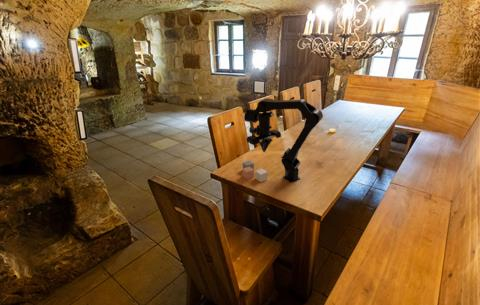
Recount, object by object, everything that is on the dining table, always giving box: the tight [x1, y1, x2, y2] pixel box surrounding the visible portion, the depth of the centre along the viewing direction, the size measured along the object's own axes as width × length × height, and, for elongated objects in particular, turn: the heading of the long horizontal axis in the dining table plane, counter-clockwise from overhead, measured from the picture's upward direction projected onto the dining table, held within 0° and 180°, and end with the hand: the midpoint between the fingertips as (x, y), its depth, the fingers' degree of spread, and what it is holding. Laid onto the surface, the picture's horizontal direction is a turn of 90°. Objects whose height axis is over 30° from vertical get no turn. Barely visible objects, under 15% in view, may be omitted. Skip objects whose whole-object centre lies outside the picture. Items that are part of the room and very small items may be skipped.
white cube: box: [254, 168, 268, 183], centre depth 135 cm, size 4×4×4 cm
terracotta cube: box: [241, 167, 255, 181], centre depth 137 cm, size 4×4×4 cm
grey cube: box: [242, 160, 255, 170], centre depth 144 cm, size 4×4×4 cm
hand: (263, 151), depth 138 cm, fingers closed
